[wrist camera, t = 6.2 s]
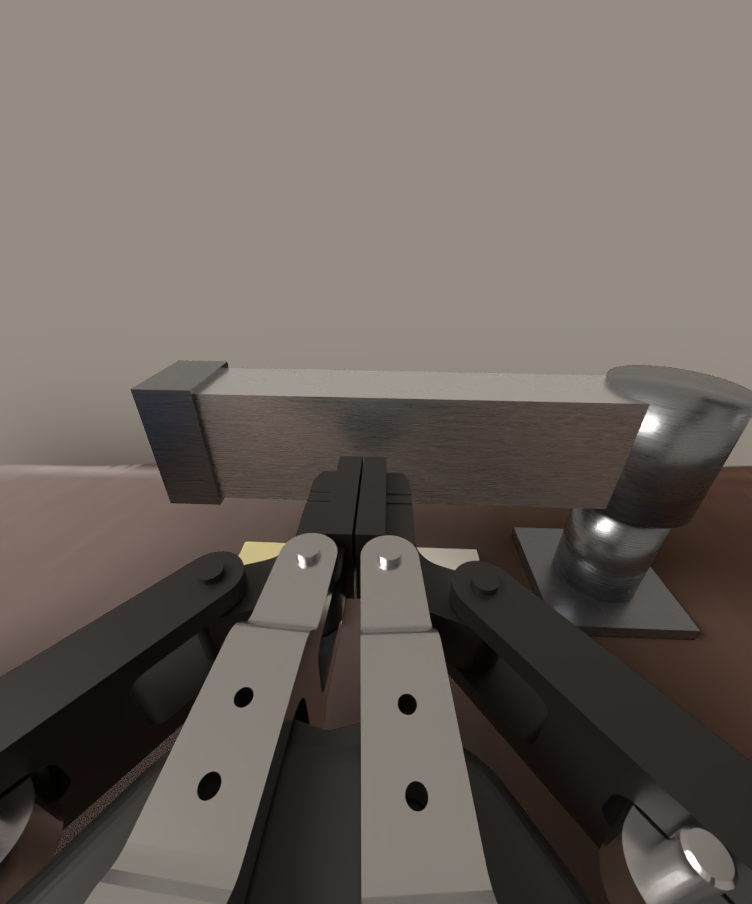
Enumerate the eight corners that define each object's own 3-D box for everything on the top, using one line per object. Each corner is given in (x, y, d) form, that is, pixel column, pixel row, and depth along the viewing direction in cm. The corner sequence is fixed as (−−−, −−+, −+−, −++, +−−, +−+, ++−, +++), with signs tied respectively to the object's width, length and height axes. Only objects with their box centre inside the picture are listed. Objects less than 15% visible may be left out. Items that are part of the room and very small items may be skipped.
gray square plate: (618, 538, 21) (653, 464, 18) (693, 639, 16) (757, 555, 13) (511, 535, 21) (531, 460, 18) (550, 633, 16) (585, 549, 13)
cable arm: (650, 465, 17) (696, 366, 15) (722, 530, 14) (800, 411, 11) (211, 454, 18) (185, 356, 15) (162, 513, 14) (118, 396, 12)
